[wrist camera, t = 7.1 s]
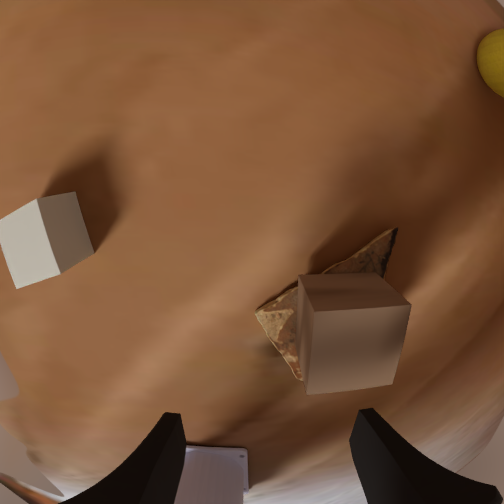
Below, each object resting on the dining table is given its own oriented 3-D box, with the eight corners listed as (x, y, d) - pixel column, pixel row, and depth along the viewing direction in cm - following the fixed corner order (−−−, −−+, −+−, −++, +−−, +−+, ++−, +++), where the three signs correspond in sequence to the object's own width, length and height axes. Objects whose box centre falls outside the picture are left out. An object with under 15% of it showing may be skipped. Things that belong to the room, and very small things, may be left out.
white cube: (95, 253, 19) (60, 273, 14) (51, 268, 19) (16, 289, 15) (75, 191, 18) (36, 198, 13) (33, 212, 18) (-6, 223, 14)
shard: (388, 222, 19) (400, 227, 17) (420, 307, 21) (431, 317, 19) (250, 302, 20) (251, 314, 19) (301, 376, 22) (304, 391, 20)
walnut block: (365, 340, 19) (392, 384, 14) (295, 345, 19) (306, 395, 14) (375, 272, 18) (411, 304, 13) (298, 274, 18) (314, 311, 13)
